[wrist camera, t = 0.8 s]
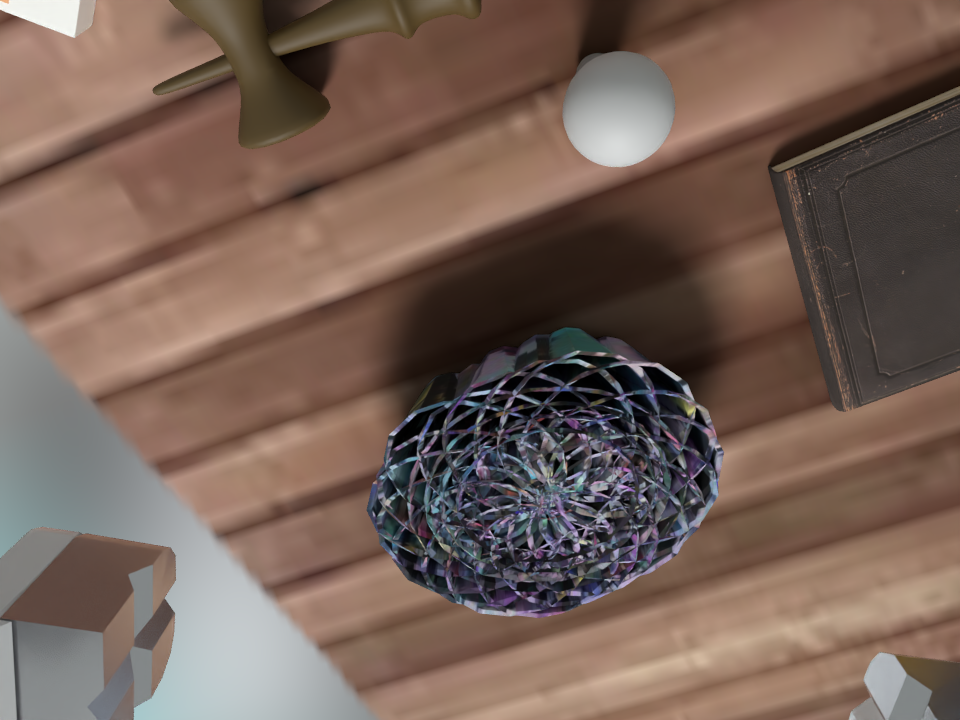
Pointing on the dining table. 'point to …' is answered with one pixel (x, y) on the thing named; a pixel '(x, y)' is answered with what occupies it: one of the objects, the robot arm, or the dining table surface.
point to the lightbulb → (618, 108)
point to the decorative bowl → (545, 476)
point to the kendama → (255, 53)
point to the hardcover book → (880, 250)
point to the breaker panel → (54, 13)
